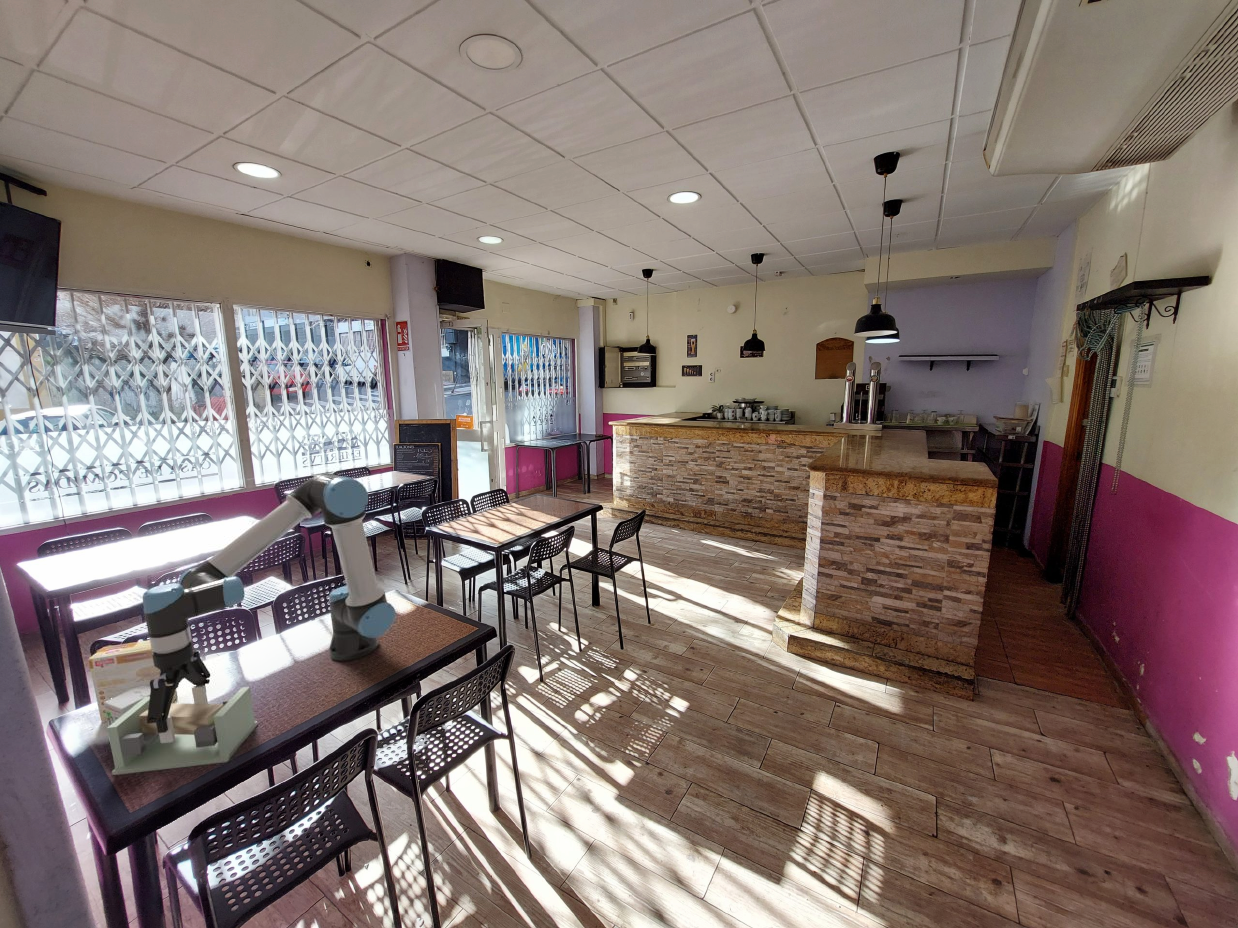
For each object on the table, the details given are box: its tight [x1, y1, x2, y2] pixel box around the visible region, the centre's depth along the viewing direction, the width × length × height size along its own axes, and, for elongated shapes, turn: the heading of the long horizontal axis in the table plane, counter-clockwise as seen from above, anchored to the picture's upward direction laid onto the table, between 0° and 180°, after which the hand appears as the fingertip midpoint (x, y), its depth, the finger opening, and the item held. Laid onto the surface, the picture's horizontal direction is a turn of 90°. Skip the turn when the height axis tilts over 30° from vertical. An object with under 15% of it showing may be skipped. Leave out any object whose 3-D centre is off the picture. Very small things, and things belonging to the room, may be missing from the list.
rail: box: [139, 702, 224, 735], centre depth 128 cm, size 18×5×5 cm, turn 87°
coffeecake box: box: [87, 639, 178, 723], centre depth 144 cm, size 15×7×20 cm, turn 110°
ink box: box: [104, 685, 151, 727], centre depth 134 cm, size 8×8×12 cm
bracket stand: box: [106, 686, 259, 776], centre depth 128 cm, size 25×14×12 cm, turn 99°
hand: (185, 724), depth 128 cm, fingers open, 12 cm apart
